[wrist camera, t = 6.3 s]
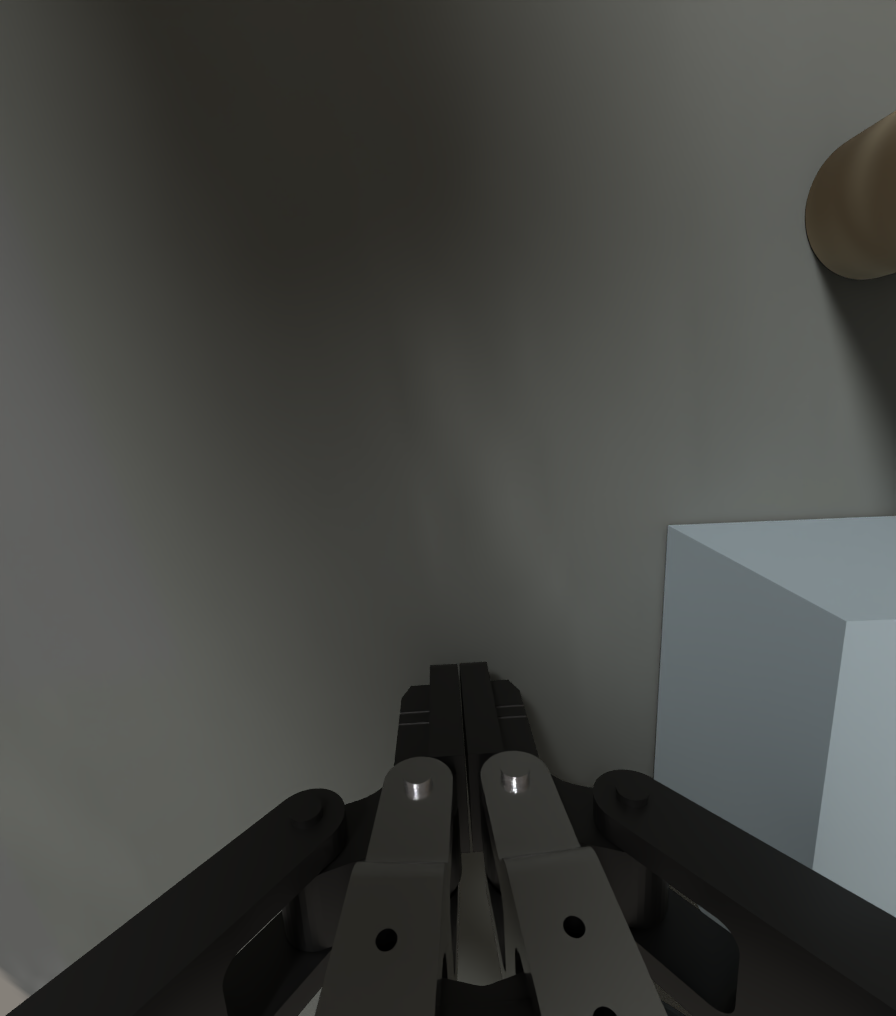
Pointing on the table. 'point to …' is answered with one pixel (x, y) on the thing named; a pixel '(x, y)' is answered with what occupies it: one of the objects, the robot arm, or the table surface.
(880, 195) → the dowel
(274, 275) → the table surface
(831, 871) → the socket block
